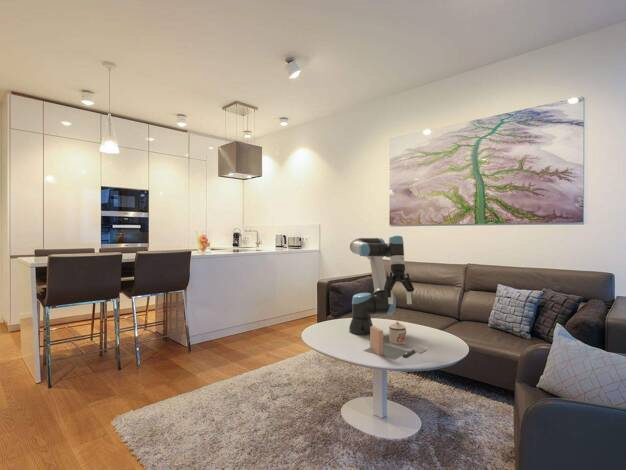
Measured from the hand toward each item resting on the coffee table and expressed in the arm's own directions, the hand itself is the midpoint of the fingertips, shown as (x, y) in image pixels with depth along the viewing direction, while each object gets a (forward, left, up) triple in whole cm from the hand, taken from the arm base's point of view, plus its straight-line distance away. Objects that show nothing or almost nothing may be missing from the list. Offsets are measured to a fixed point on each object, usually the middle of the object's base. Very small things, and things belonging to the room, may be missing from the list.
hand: (400, 304), depth 184 cm
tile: (-6, -14, -23) cm, 28 cm away
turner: (+8, 0, -24) cm, 25 cm away
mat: (-3, -9, -24) cm, 26 cm away
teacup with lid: (-6, +10, -24) cm, 26 cm away
